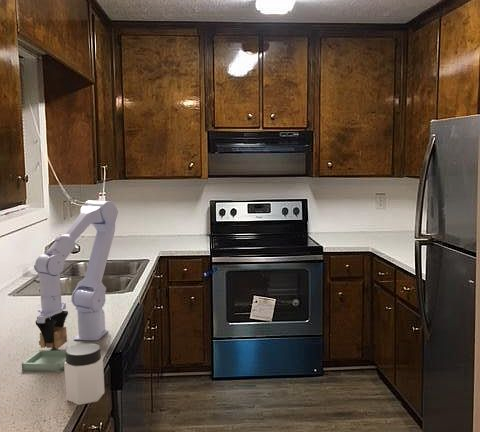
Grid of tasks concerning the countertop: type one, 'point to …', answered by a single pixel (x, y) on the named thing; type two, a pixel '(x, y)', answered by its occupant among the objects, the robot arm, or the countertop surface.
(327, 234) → the countertop surface
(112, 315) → the countertop surface
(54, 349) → the lever
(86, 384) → the jar
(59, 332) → the wooden blocks
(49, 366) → the tray
